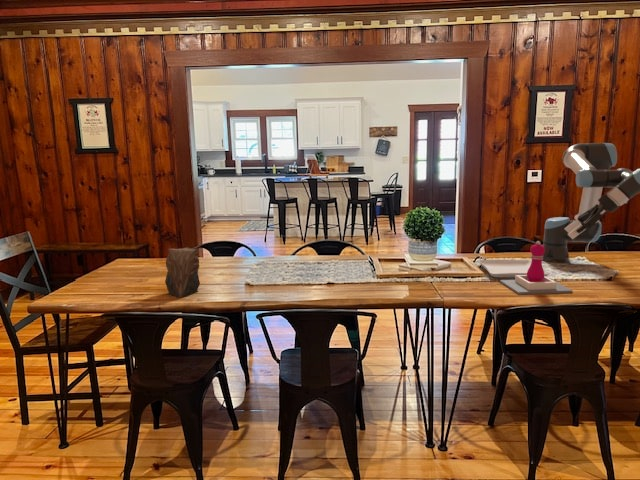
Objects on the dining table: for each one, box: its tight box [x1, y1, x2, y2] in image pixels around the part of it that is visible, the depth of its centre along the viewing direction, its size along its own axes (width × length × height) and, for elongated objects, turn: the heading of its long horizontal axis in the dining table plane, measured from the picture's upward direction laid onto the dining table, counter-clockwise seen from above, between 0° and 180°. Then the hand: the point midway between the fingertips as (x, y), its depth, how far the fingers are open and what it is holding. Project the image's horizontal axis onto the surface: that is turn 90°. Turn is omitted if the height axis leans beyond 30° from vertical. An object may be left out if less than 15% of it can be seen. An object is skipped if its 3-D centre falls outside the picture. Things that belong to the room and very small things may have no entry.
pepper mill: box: [527, 240, 545, 282], centre depth 205 cm, size 7×7×20 cm
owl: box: [164, 246, 201, 299], centre depth 203 cm, size 13×13×20 cm
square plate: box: [477, 259, 550, 279], centre depth 230 cm, size 27×27×4 cm
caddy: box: [499, 275, 573, 295], centre depth 206 cm, size 18×24×4 cm
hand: (568, 233), depth 199 cm, fingers open, 13 cm apart
